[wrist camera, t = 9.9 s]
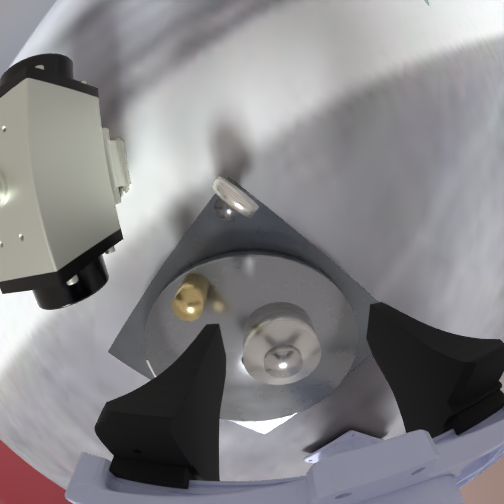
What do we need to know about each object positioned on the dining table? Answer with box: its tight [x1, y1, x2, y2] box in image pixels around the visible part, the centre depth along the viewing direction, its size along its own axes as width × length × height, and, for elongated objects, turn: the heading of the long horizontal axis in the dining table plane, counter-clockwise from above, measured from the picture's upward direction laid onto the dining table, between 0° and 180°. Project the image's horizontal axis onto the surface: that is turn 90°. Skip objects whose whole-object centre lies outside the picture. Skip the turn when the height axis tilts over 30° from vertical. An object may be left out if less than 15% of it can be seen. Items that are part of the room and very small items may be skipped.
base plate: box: [108, 177, 379, 434], centre depth 22 cm, size 19×19×1 cm
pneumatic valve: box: [0, 53, 131, 310], centre depth 12 cm, size 6×12×12 cm, turn 9°
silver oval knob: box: [211, 176, 259, 220], centre depth 16 cm, size 3×2×4 cm, turn 51°
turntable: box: [144, 251, 358, 422], centre depth 19 cm, size 17×17×4 cm
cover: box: [243, 302, 321, 385], centre depth 18 cm, size 5×5×4 cm
